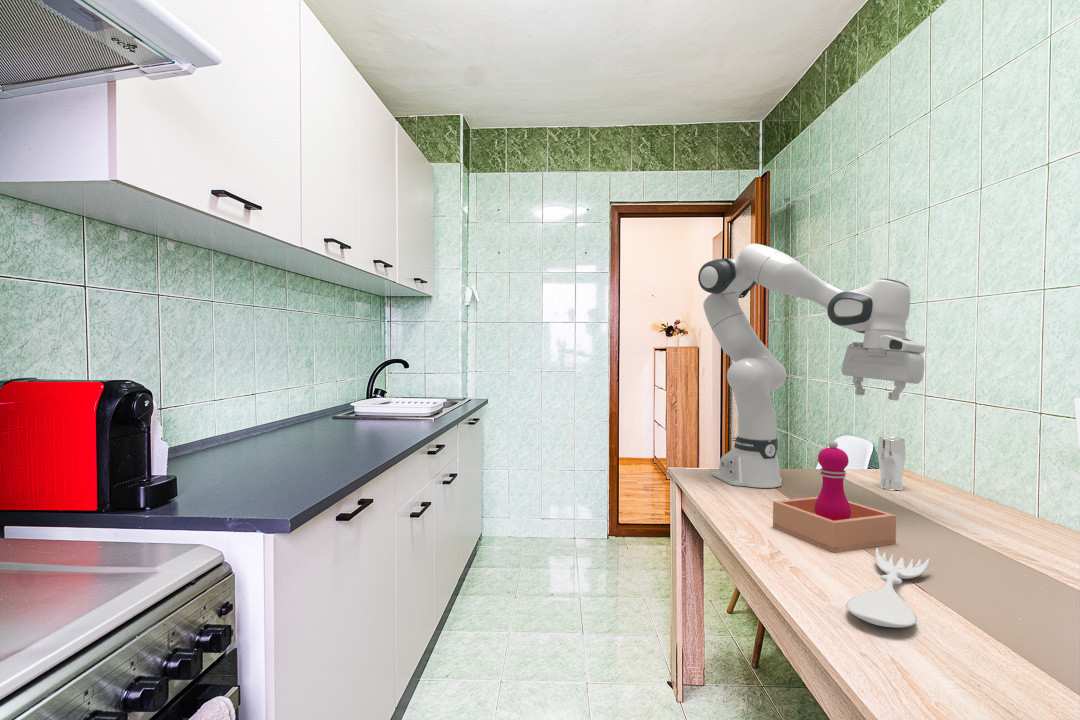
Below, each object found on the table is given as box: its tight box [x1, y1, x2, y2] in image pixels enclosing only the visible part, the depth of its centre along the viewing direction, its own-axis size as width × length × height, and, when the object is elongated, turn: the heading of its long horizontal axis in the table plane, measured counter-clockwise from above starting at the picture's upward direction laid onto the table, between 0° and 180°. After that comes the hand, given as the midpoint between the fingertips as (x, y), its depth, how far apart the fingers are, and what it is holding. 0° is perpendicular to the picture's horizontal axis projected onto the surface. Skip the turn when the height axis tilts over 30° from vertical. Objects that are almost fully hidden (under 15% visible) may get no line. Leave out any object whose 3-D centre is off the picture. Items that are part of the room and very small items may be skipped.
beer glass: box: [877, 436, 906, 491], centre depth 163 cm, size 7×7×15 cm
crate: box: [772, 496, 897, 553], centre depth 121 cm, size 17×17×6 cm
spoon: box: [845, 547, 931, 629], centre depth 90 cm, size 9×32×4 cm, turn 140°
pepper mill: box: [814, 440, 851, 521], centre depth 121 cm, size 7×7×20 cm
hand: (875, 397), depth 138 cm, fingers open, 8 cm apart
